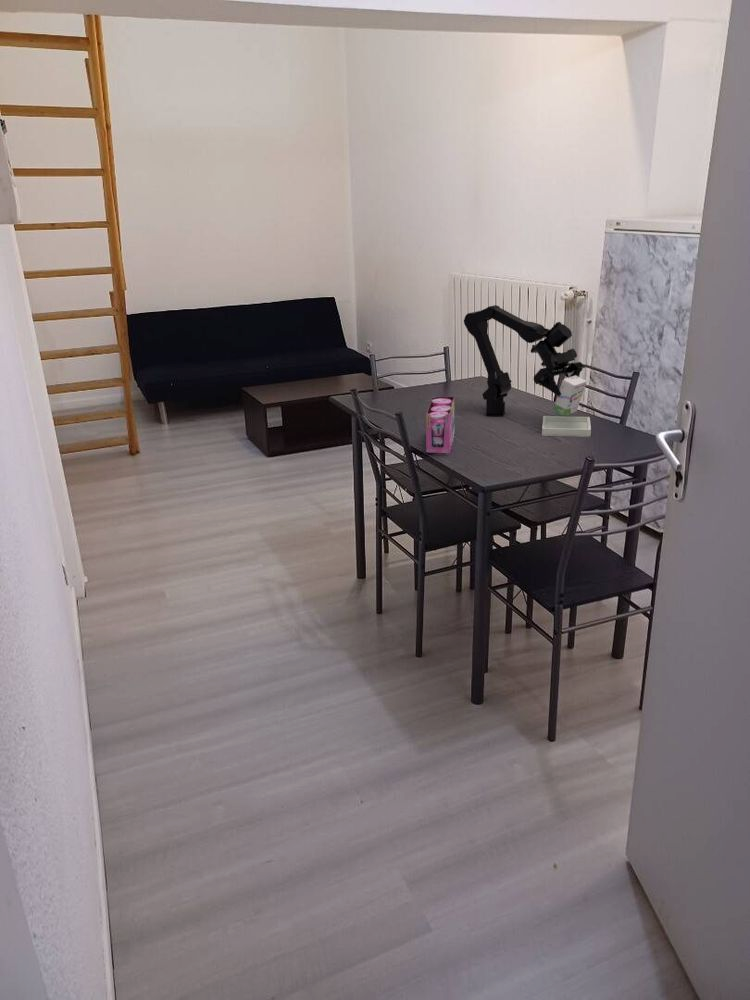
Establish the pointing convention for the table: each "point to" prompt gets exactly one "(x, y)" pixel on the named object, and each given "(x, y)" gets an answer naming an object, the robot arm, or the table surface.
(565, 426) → the tray
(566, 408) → the ink box
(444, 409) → the gum box
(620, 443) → the table surface
